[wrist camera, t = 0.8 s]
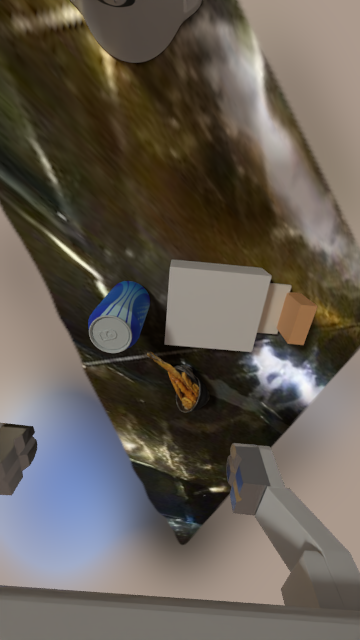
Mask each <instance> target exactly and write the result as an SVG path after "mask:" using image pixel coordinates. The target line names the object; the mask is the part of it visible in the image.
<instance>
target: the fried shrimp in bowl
mask: <svg viewBox="0 0 360 640" xmlns="http://www.w3.org/2000/svg"><path fill="white" fill-rule="evenodd" d="M147 356H149V357H150V358H151V359H154V361H156V362H157V363H158V364H159V365H161V366H162V367H163V368H165V369H166V370H167V371H168V374H169V377H170V379H171V382H172V384H173V386H174V388H175V391H176V393H177V394H176V403H177V406H178V408H179V410H180V411H182V412H184V413H188V412H191V411H195V410H198V409H200V408H201V407H203V405H206V404H207V402H208V400H209V391H208V390H207V388H206V386H205V384H204V383H203V382H202V381H201V380H199V379H198V378H197V377H196V376H195V375H194V374H193V371H192V369H191V368H189V367H188V366H185V365H182V367H181V366H171V365H170V364H168V363H166V362H164V361H163V360H161V359H160V358H159V357H157V356H156V355H154V354H153V353H152V352H148V353H147Z"/></svg>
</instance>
